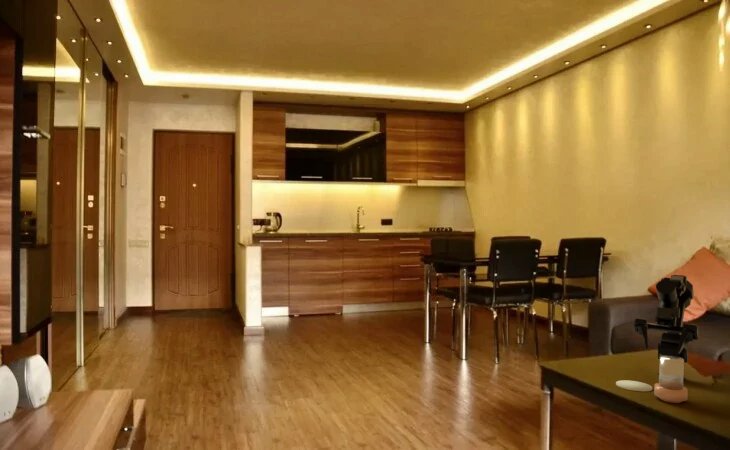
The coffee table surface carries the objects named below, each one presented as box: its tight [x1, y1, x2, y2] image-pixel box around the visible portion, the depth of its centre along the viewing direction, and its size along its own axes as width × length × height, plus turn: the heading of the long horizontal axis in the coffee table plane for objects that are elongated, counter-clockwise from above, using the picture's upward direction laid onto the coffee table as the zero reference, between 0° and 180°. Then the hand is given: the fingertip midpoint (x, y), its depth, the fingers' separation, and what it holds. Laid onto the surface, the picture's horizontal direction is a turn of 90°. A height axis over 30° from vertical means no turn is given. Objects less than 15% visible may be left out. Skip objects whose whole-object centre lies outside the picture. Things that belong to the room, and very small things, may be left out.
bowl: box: [653, 382, 688, 404], centre depth 172 cm, size 9×9×4 cm
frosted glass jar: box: [658, 356, 685, 390], centre depth 172 cm, size 7×7×9 cm
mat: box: [615, 379, 653, 393], centre depth 185 cm, size 11×11×1 cm
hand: (662, 350), depth 180 cm, fingers open, 9 cm apart
